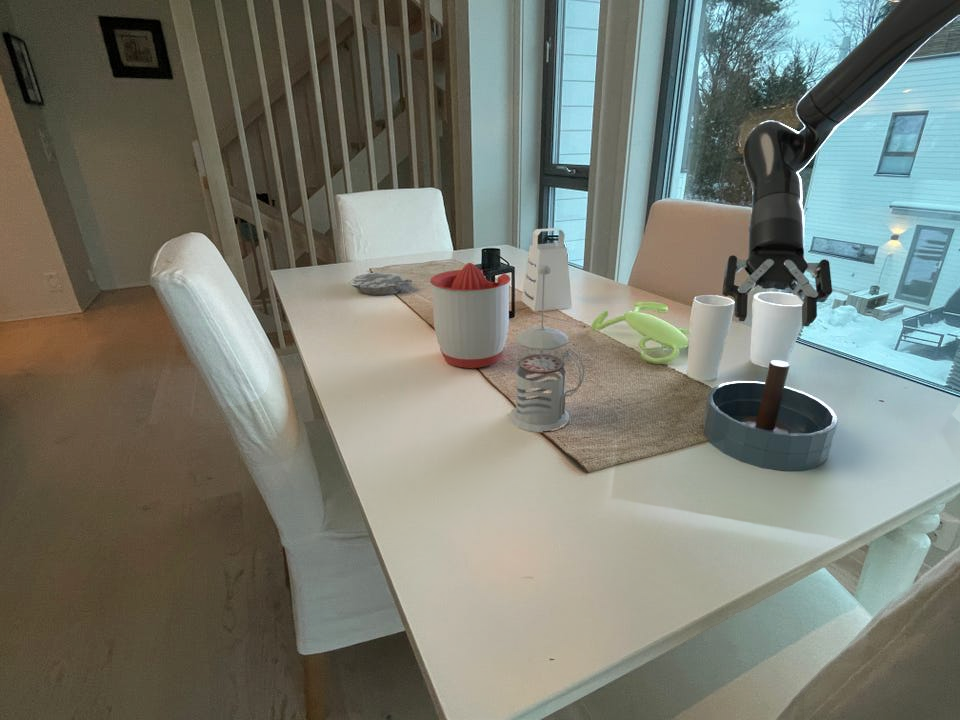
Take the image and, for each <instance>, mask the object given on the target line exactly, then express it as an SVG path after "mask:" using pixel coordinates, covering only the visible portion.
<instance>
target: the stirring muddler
mask: <svg viewBox="0 0 960 720" xmlns="http://www.w3.org/2000/svg"><path fill="white" fill-rule="evenodd" d="M789 369H790V364H789V362H787V363H786V362H784V361H779V360H772V361H770V363H769V368H767V372H766V376H765V385H764V390H763V394H762V399H761V403H760V408H759V412H758V416H751V417H747V418H745V419H743V421H742V423H745V424H747V425H749V426H753V427H756V428H760V429H764V430H768V431H773V432H781V433H788V432H789V431H788V428H787V427H786V426H785V425H784V424H782V423H781V422H779V421H776V419H777V415H778V411H779V407H780V403H781V399H782V395H783V391H784V386H785V387H786V381H787V379H788V378H787V377H788V375H789V374H788V373H789Z"/></svg>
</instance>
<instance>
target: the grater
mask: <svg viewBox="0 0 960 720" xmlns="http://www.w3.org/2000/svg"><path fill="white" fill-rule="evenodd" d="M553 231H556V232H557V231H558V240H557V241H558V243H557V242H550V243H538V241H539V240H538V239H539V237H538V236H539V235H540V234H541V232H553ZM541 265H547V266H548V267H549V268H550V270H551V271H550V274H545V277H544V308H543V312H547V311H554V310H555V311H556V310H565V309H572V308H573V304H572V292H571V281H570V280H571V279H570V269H569V256H568V247H566V246H565V232H564V231H563V230H562V229H560V228H557V227H547V228H536V229H535V230H534V231H533V232H532V243H531V244H529V247H528V256H527V261H526V268H525V276H524V282H523V289H522V295H521V302H522V303H524V304H525V305H526V306H527V307H528V308H530V309H531V310H532V311H533V312H534V313H538V312H542V294H543V274H538V267H539V266H541Z"/></svg>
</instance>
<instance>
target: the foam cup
mask: <svg viewBox="0 0 960 720" xmlns="http://www.w3.org/2000/svg"><path fill="white" fill-rule="evenodd" d="M802 304H803V302H802V300H801V299H800V298H799V297H798V296H797V295H793V293H788V292H781V291H762V292H758V293H756V294H753V299H752V304H751V310H752V314H751V333H750V334H751V335H750V336H751V337H750V352H749V356H750V359H749V361H750V362H751V363H752V364H754V365H756V366H758V367H762V368H765V369H766V368H767V369H768V368H769V363H770V361H772V360H779V361H784V362H786V363H789V359H790V357H791V355H792V352H793V349H794V347H795V345H796V342H797V339H798V337H799V335H800V333H801V330H802V327H803V326H802Z"/></svg>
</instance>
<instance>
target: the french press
mask: <svg viewBox="0 0 960 720" xmlns="http://www.w3.org/2000/svg"><path fill="white" fill-rule="evenodd" d="M537 267H538V266H537ZM550 271H551V270H550V268H549V267H548V266H547V265H541V266H539V267H538V274H543V294H542V311H541V325H540V326H532V327H529V328H527V329H525V330H522V331H521V332H519V333H517V334H516V336H515V337H514V339H515V341H516V343H517V345H518V346H520V347H521V348H524V349H528V350H531V351H540V353H532V354H527V355H524V356H522V357H521V358H519V359H518V362H517V363H518V365H519V366H517V368H516V381H515V382H516V385H515V387H516V392H515V403H516V404H515V407H514V408H513V409H511V411H510V414H509V419H510V422H511V423H512V424H513V425H514V426H516V428H519V429H522V430H525V431H527V432H532V433H539V434H540V433H544V432H543V431H546V430H548V429H549V430H551V429H555V428H558V427H560V426H562V425H563V424H565V423H567V422H568V418H569V417H570V414H569V413H568V411H566V398H567V397H569V396H573V394H575V393H576V392H577V391H578V390H579V388H580V387H581V385H582V384H583V381H584V379H585V377H584V376H585V370H586V369H585V365H584V362H583V360H582V358H581V356H580V355H578V354H577V352H575V351H574V350H573V349H571V348H567V349H566V350H565V352H564V353H562V358H560V357H558V356H557V355H553V354H546V353H543V352H545V351H546V352H547V351H554V350H559V349H561V348H563V347H565V346H567V344H568V341H569V337H568V336H567V334H566V333H564V332H563V331H561V330H560V329H557V328H552V327H549V326H545V325H544V311H543V308H544V277H545V274H550ZM569 352H571V353H573V354H574V355H575V356H576V357H577V359H578V360H579V362H580V364H579V363H578V361H577V359H575V358H574V357H573V356H572V355H571V354H570V353H569ZM568 357H569V358H570V359H572V361H573V362H574V363H575V364H576V366H577V369H578V373H579V377H578V383H577V385H576V387H574V388H573V389H569V390H566V380H567V379H566V376H567V371H566V369H565V368H564V366H565V361H566V360H567V359H568ZM580 365H581V368H582V371H581V368H580ZM557 372H558V373H559V374H560V375H561V376H562V377H561V376H560V375H559V374H557ZM535 374H537V375H538V376H533V377H527V376H529V375H535ZM549 377H553V378H555V379H544V378H549ZM542 379H544V380H542ZM539 380H542V381H539ZM530 389H536V390H531V391H527V390H530ZM546 391H551V392H548V393H547V392H546Z"/></svg>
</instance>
